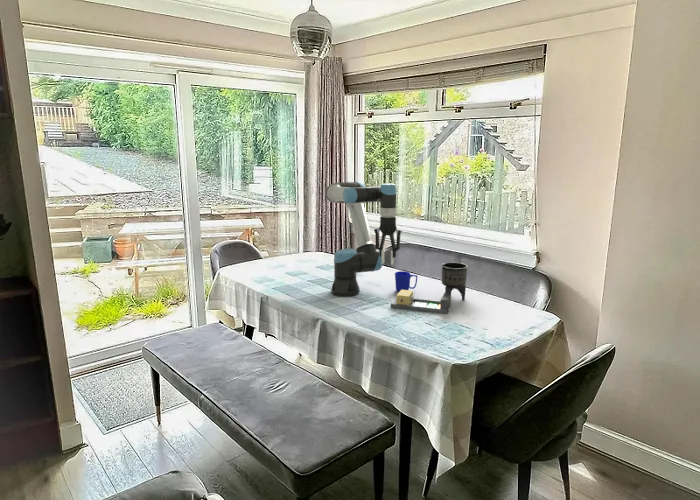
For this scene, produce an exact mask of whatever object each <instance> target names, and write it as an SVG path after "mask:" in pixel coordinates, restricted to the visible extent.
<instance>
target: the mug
mask: <svg viewBox="0 0 700 500" xmlns="http://www.w3.org/2000/svg"><path fill="white" fill-rule="evenodd" d="M412 277H415V283H414V286H413V287H411V278H412ZM394 280H395V290H396V291H397V292H398V293H399V292H400V291H401V290H413V289H415V288H416V286H417V283H418V275H416V274H411V273H410V272H409V271H396V272H395V273H394Z"/></svg>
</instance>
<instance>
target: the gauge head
mask: <svg viewBox="0 0 700 500" xmlns="http://www.w3.org/2000/svg"><path fill="white" fill-rule="evenodd" d="M414 298H415V296H414V290H412V289H409V290H401V291H400V292H398V293H397V294H396V299H397V301H396V300H395V301H396V304H402V305H410V304H411V302H412V301H413V300H414Z"/></svg>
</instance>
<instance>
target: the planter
mask: <svg viewBox="0 0 700 500" xmlns="http://www.w3.org/2000/svg"><path fill="white" fill-rule="evenodd" d="M468 268H469V267H468V265H467V264H465V263H461V262H453V261H451V262H445V263H442V264H441V284H442V286H445V289H444V290H445V291H444V293H445V292H449V293H451V294H452V291H453V290H454V289H455V290H457V292H459V293H460V295H461V301H465V299H466V289H467V288H466V287H467V279H468V278H467V277H468Z"/></svg>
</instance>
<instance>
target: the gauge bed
mask: <svg viewBox="0 0 700 500" xmlns="http://www.w3.org/2000/svg"><path fill="white" fill-rule="evenodd" d="M396 301H397V298H396V299H395V301H394V302H393V303H390V309H396V310H404V311H413V312H419V313H421V312H423V313H429V314H430V313H431V314H439V315H440V314H441V315H448V313H449V311H450V308H451V307H452V306H451V305H452V304H451V305H450V307H449V309H448V311H447V310H442V309H441V300H433V299H424V298H415V297H414V300H413V301H412V302H411V304H410V305H402V304H396ZM440 310H441V311H440Z"/></svg>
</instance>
